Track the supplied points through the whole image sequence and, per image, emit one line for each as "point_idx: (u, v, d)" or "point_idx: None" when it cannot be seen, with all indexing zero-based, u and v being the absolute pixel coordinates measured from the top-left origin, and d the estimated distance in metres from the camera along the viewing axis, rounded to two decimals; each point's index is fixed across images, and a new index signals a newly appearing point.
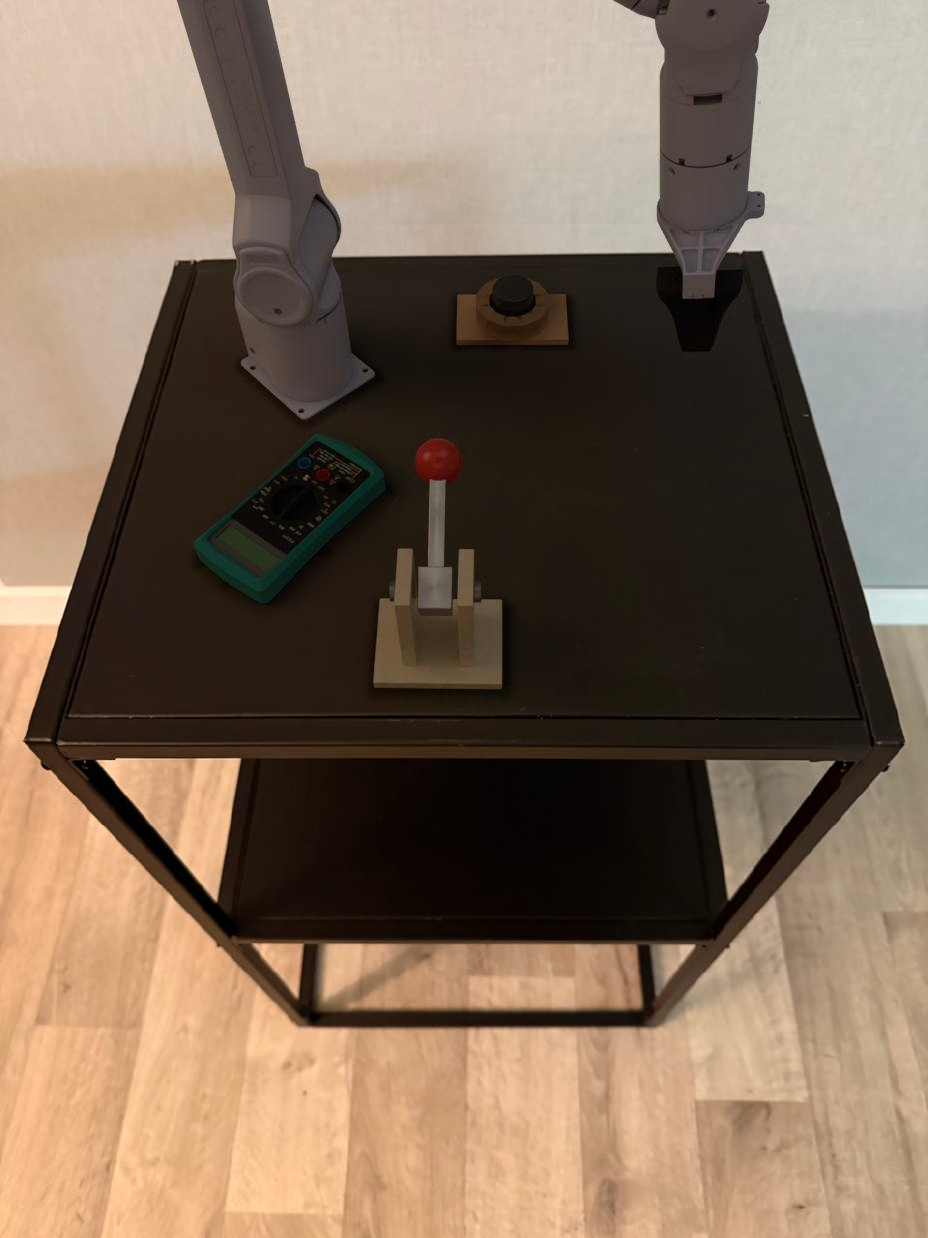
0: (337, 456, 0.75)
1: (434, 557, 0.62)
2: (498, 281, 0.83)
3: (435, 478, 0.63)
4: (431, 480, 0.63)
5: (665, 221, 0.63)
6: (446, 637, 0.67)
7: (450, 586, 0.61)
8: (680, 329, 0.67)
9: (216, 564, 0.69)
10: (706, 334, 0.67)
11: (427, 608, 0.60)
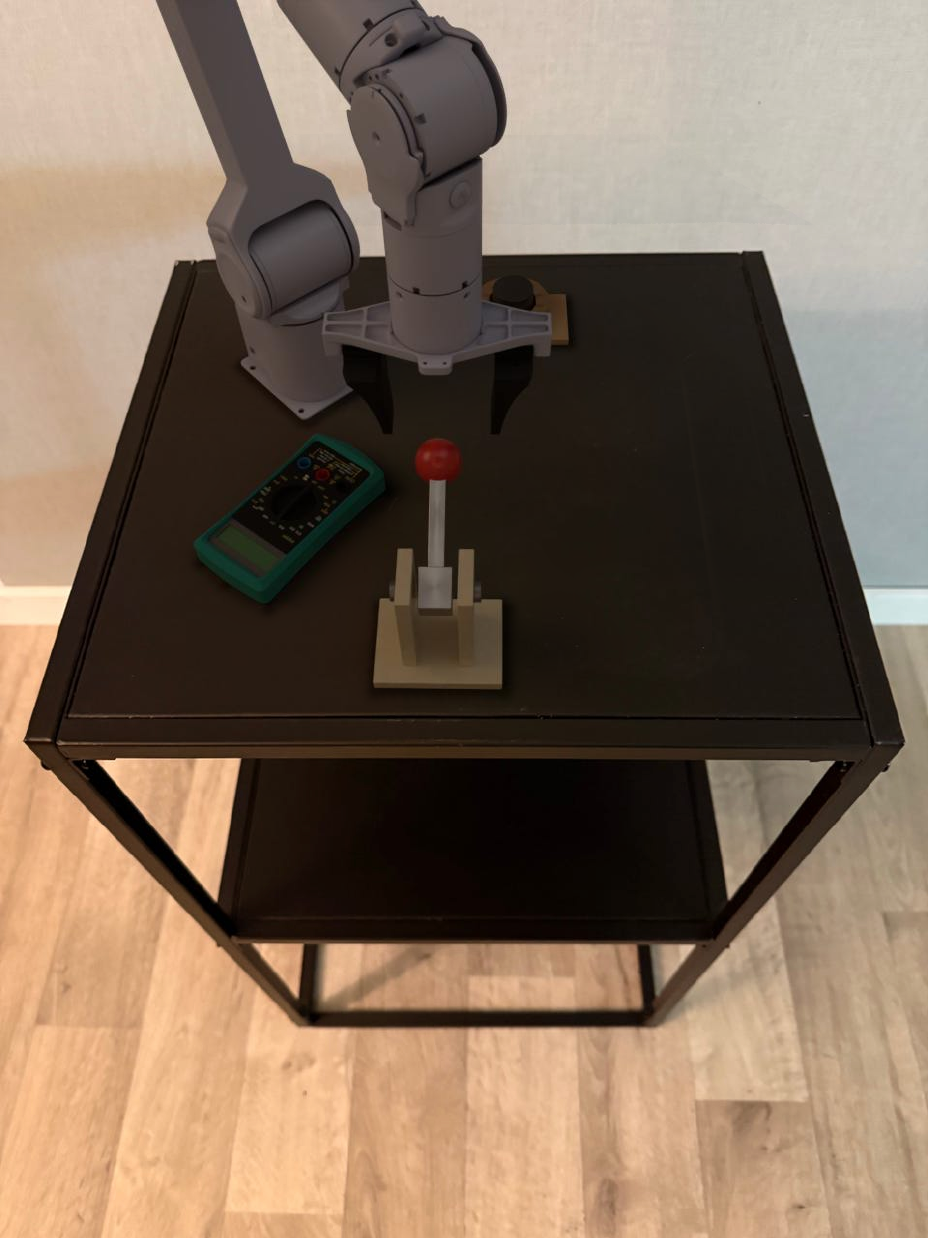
0: (337, 456, 0.75)
1: (434, 557, 0.62)
2: (498, 281, 0.83)
3: (435, 478, 0.63)
4: (431, 480, 0.63)
5: None
6: (446, 637, 0.67)
7: (450, 586, 0.61)
8: None
9: (216, 564, 0.69)
10: None
11: (427, 608, 0.60)
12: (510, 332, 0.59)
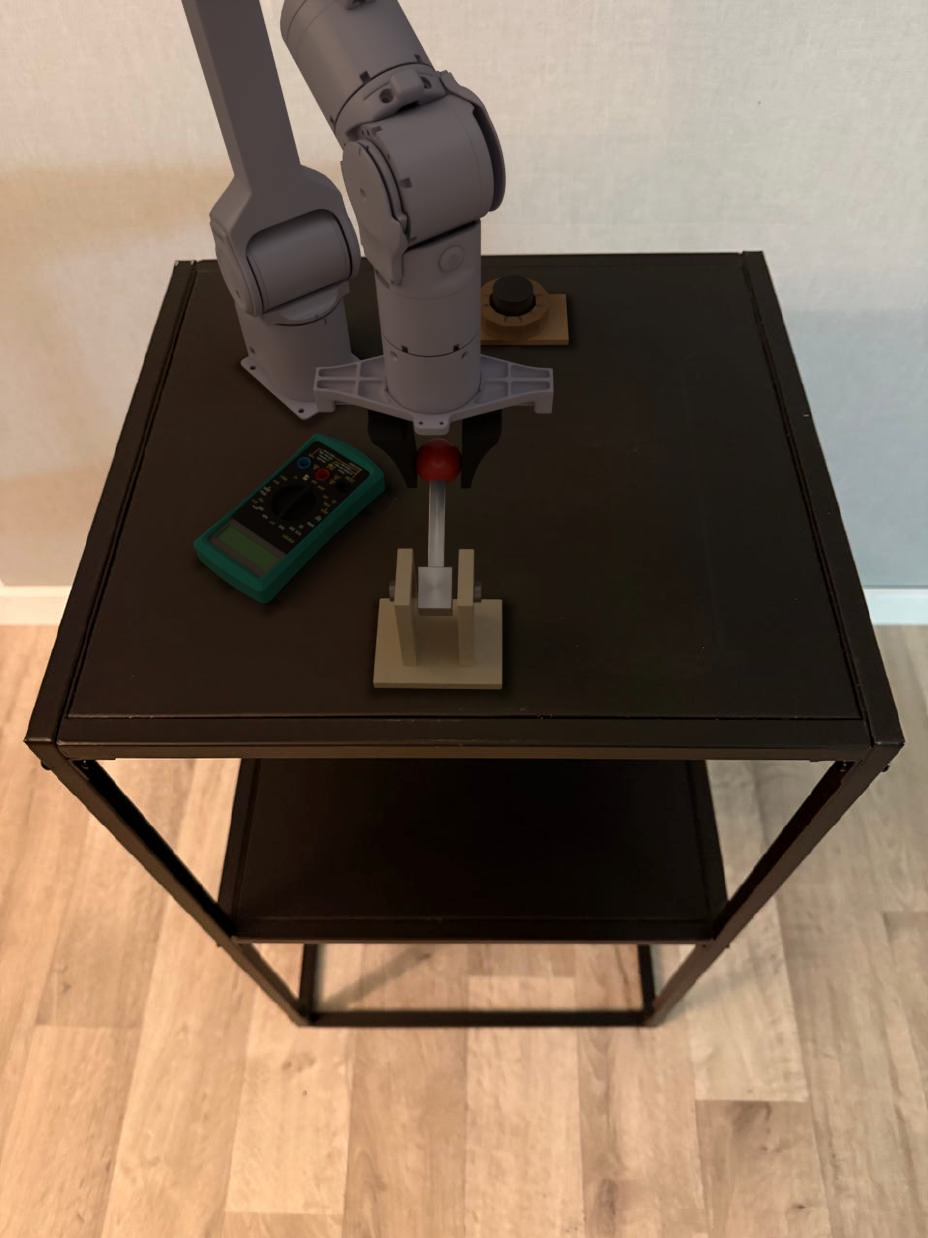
0: (337, 456, 0.75)
1: (434, 557, 0.62)
2: (498, 281, 0.83)
3: (435, 478, 0.63)
4: (431, 480, 0.63)
5: None
6: (446, 637, 0.67)
7: (450, 586, 0.61)
8: None
9: (216, 564, 0.69)
10: None
11: (427, 608, 0.60)
12: (510, 389, 0.57)
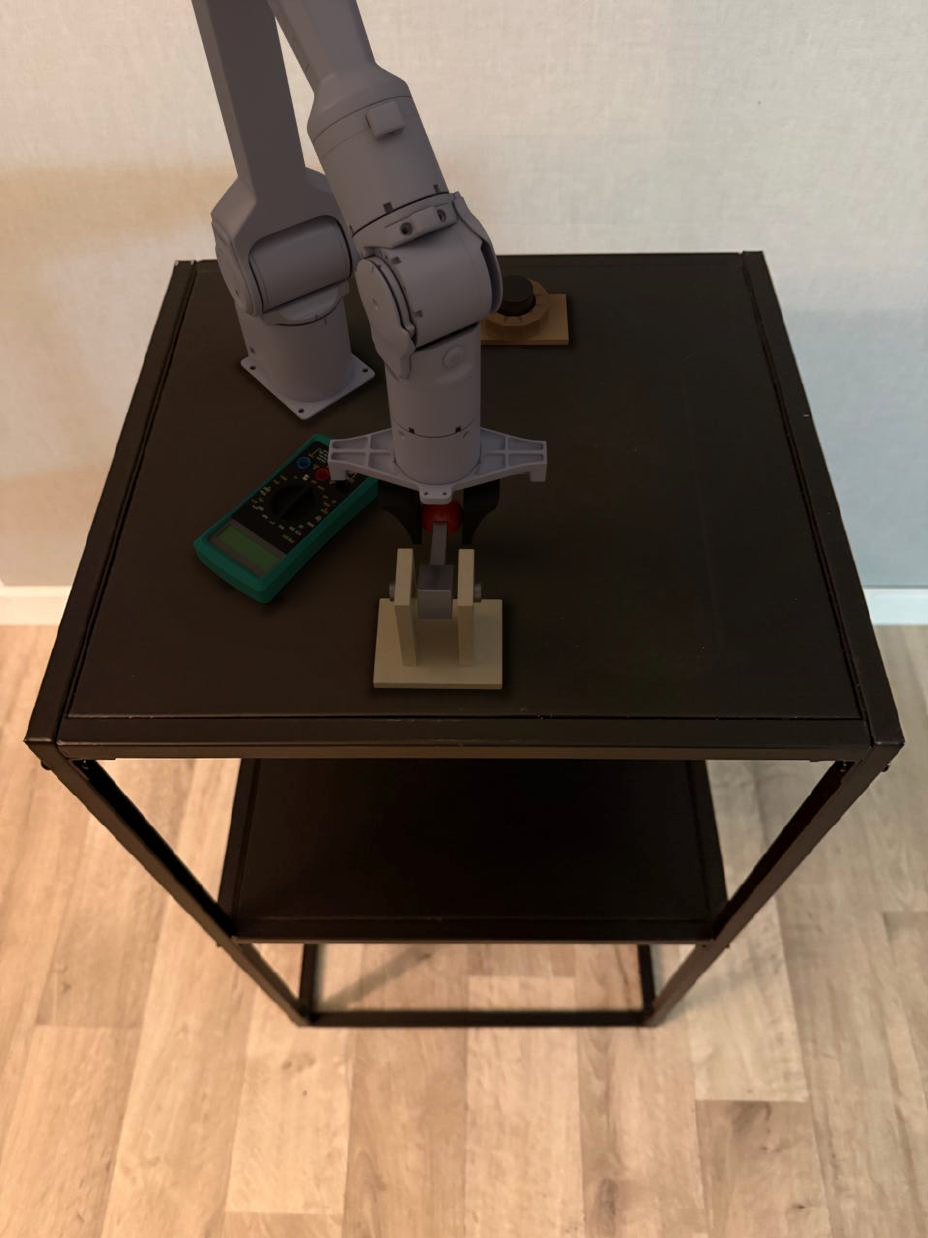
0: None
1: None
2: None
3: (438, 518, 0.67)
4: (434, 520, 0.67)
5: None
6: (446, 637, 0.67)
7: (450, 576, 0.61)
8: None
9: (216, 564, 0.69)
10: None
11: (427, 591, 0.60)
12: (507, 461, 0.62)
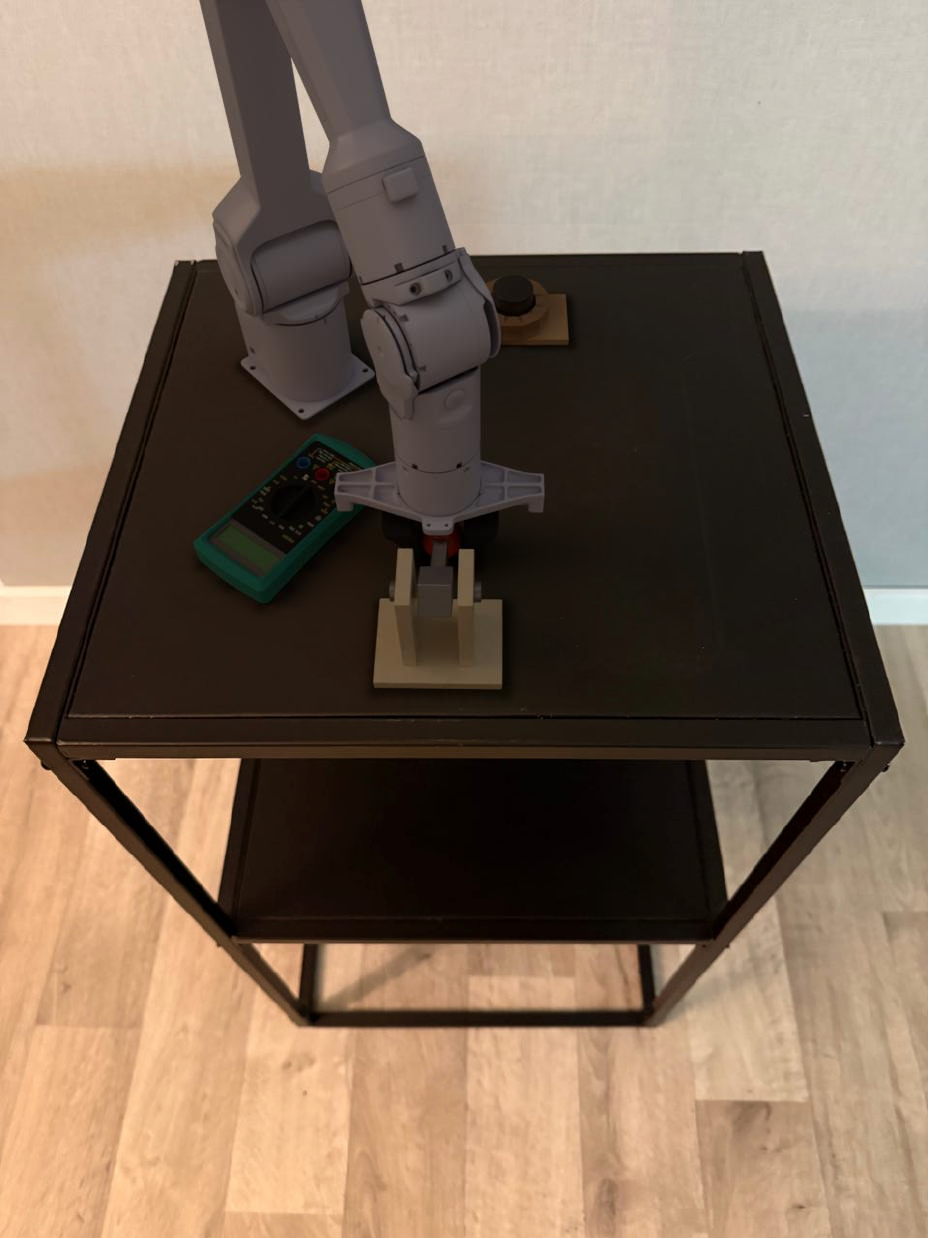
0: (337, 456, 0.75)
1: None
2: (498, 281, 0.83)
3: (439, 535, 0.68)
4: (435, 538, 0.68)
5: None
6: (446, 637, 0.67)
7: (450, 575, 0.61)
8: None
9: (216, 564, 0.69)
10: None
11: (427, 585, 0.60)
12: (506, 493, 0.65)
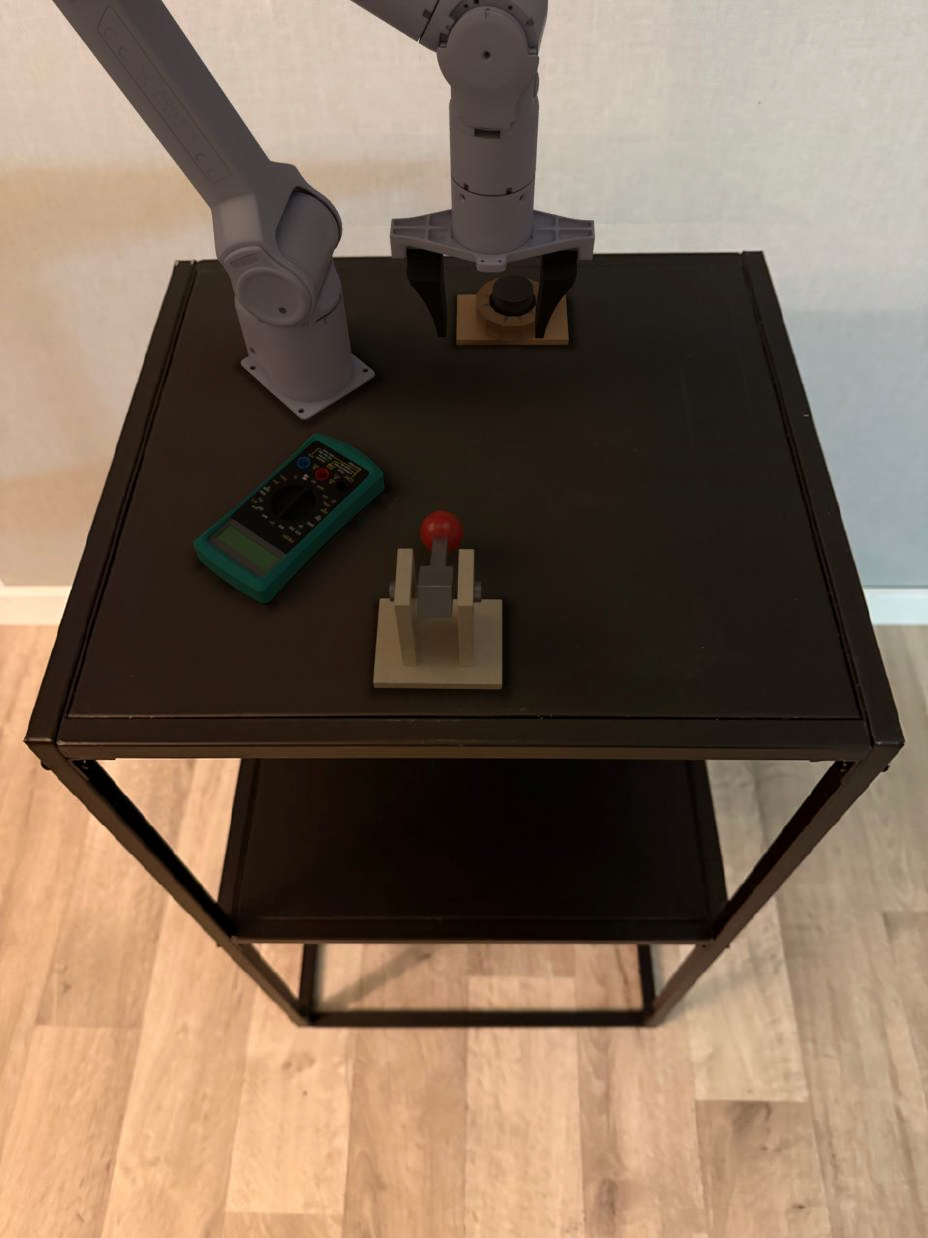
0: (336, 456, 0.75)
1: None
2: (498, 281, 0.83)
3: (438, 532, 0.68)
4: (435, 534, 0.68)
5: None
6: (446, 637, 0.67)
7: (450, 575, 0.61)
8: None
9: (216, 564, 0.69)
10: None
11: (427, 586, 0.60)
12: (558, 236, 0.66)
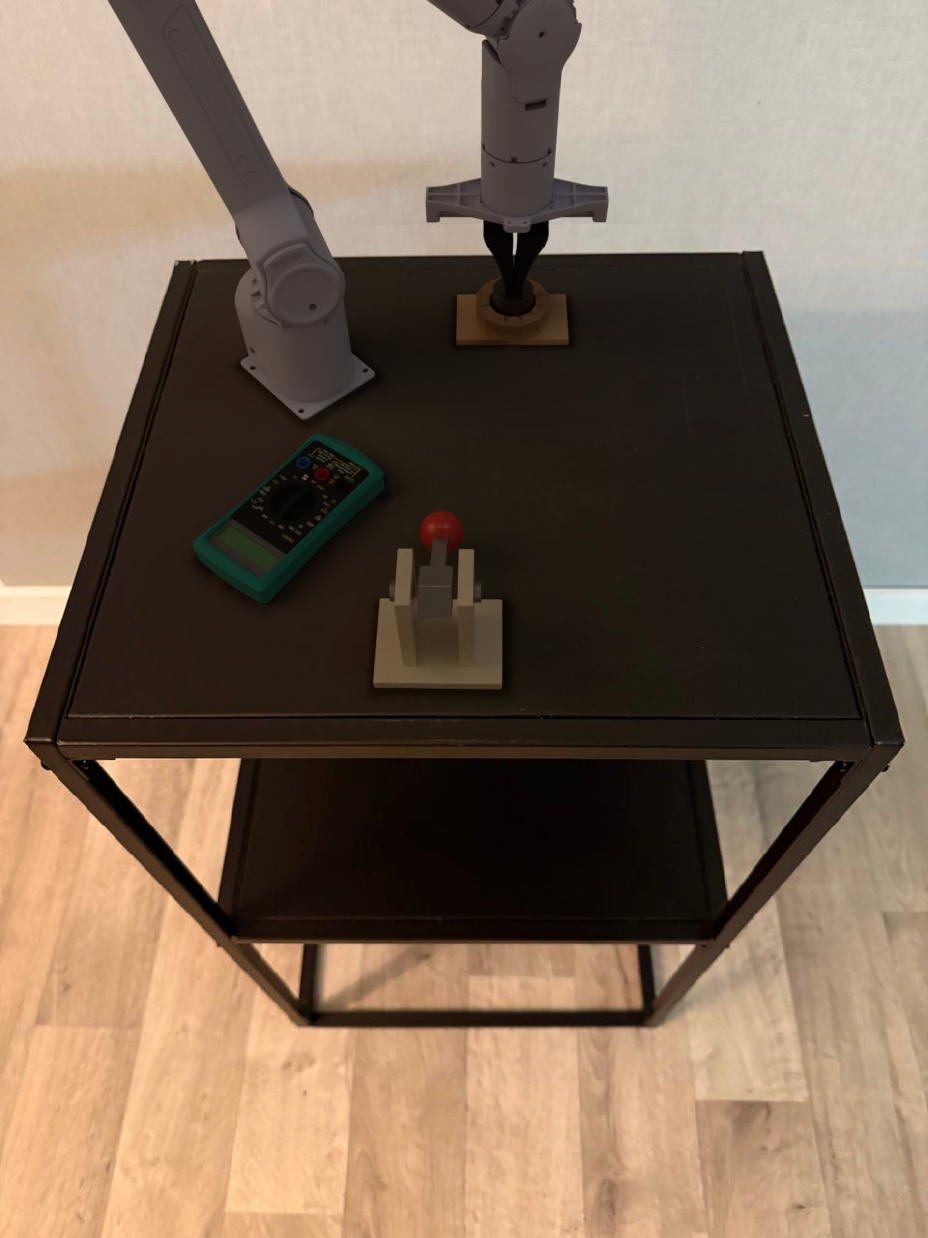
0: (336, 456, 0.75)
1: None
2: (498, 282, 0.83)
3: (438, 532, 0.68)
4: (435, 534, 0.68)
5: None
6: (446, 637, 0.67)
7: (450, 575, 0.61)
8: None
9: (216, 564, 0.69)
10: None
11: (427, 586, 0.60)
12: (575, 200, 0.74)
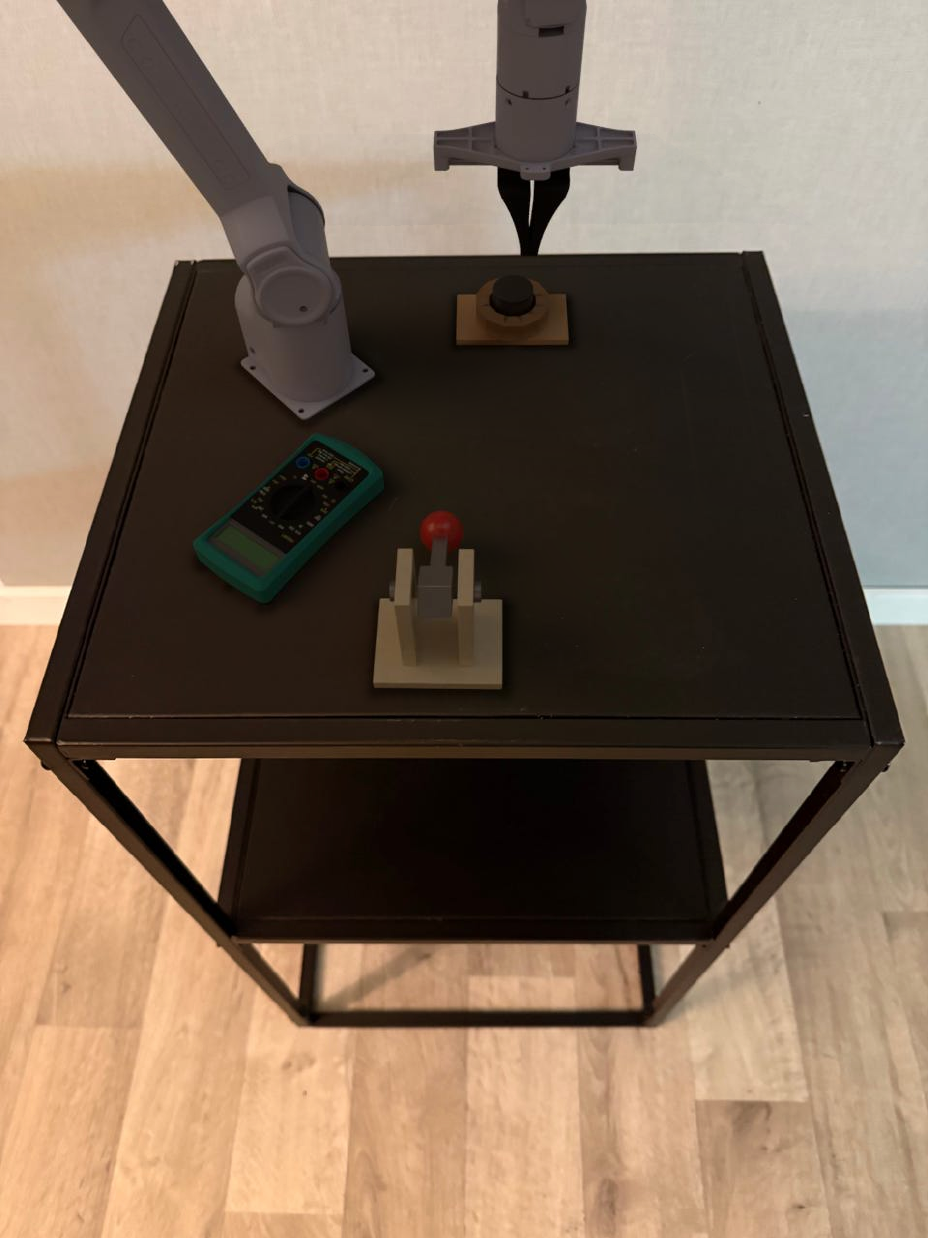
0: (336, 456, 0.75)
1: None
2: (498, 281, 0.83)
3: (438, 532, 0.68)
4: (435, 534, 0.68)
5: None
6: (446, 637, 0.67)
7: (450, 575, 0.61)
8: None
9: (216, 564, 0.69)
10: None
11: (427, 586, 0.60)
12: (600, 145, 0.67)
